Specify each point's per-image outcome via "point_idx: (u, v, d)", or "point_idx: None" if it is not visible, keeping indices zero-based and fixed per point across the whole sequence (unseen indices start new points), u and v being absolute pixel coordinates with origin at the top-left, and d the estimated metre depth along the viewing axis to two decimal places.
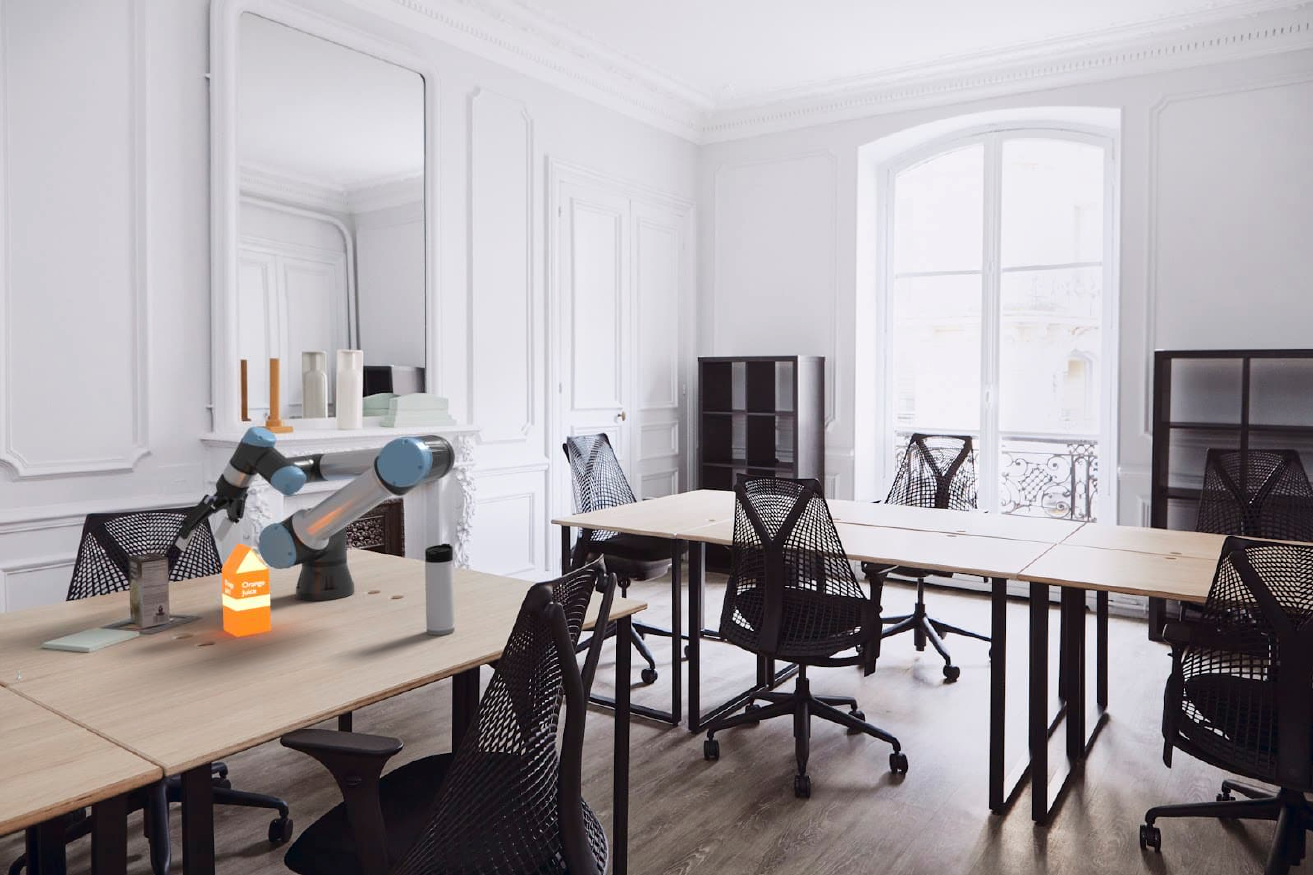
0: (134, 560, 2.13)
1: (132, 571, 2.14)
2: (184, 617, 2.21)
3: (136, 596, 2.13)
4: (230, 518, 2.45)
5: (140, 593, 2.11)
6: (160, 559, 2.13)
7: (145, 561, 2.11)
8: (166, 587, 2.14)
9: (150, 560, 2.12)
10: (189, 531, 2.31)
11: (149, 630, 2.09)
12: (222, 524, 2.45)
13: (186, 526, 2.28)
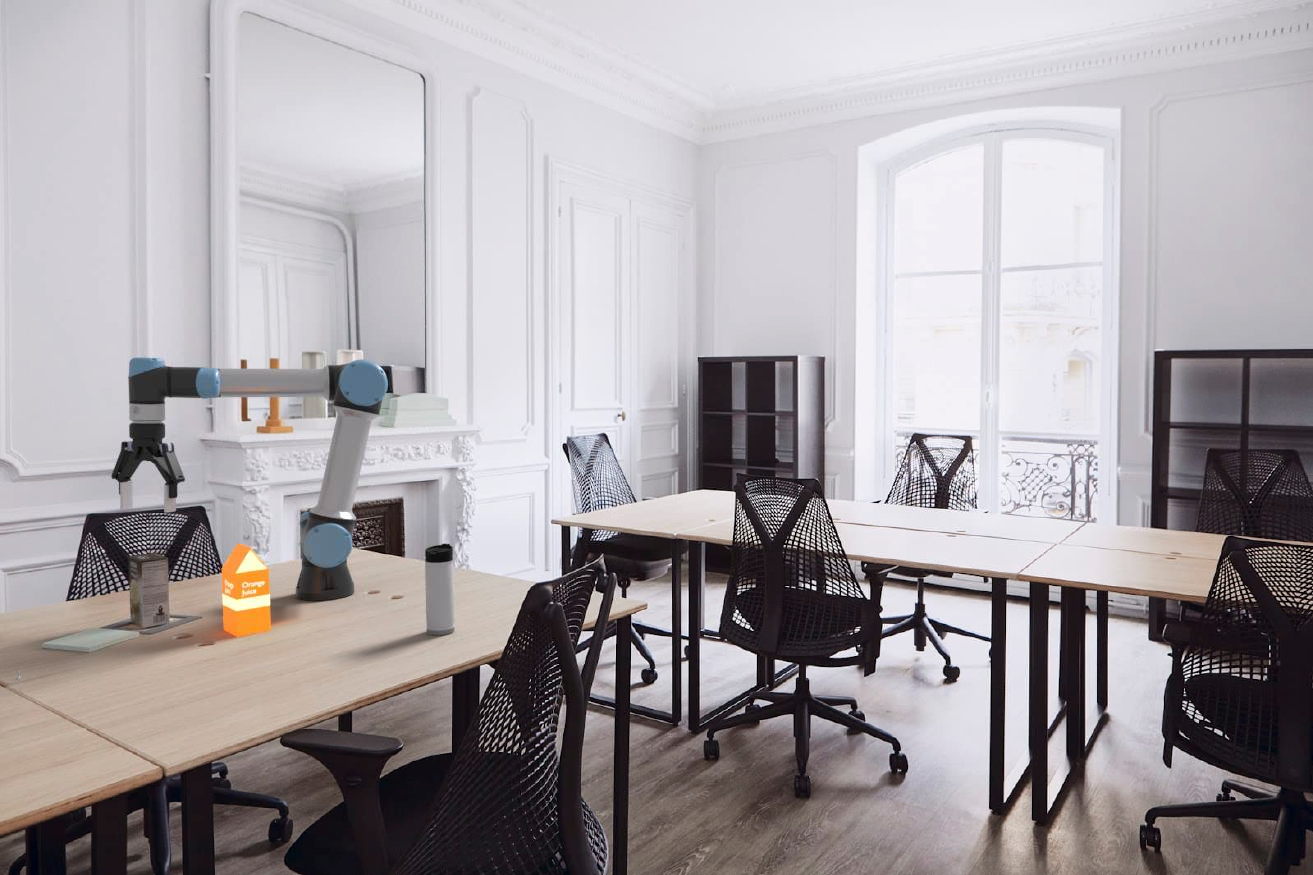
0: (134, 560, 2.13)
1: (132, 571, 2.14)
2: (184, 617, 2.21)
3: (136, 596, 2.13)
4: (125, 480, 2.18)
5: (140, 593, 2.11)
6: (160, 559, 2.13)
7: (145, 561, 2.11)
8: (166, 587, 2.14)
9: (150, 560, 2.12)
10: None
11: (149, 630, 2.09)
12: (124, 491, 2.17)
13: (183, 478, 2.13)
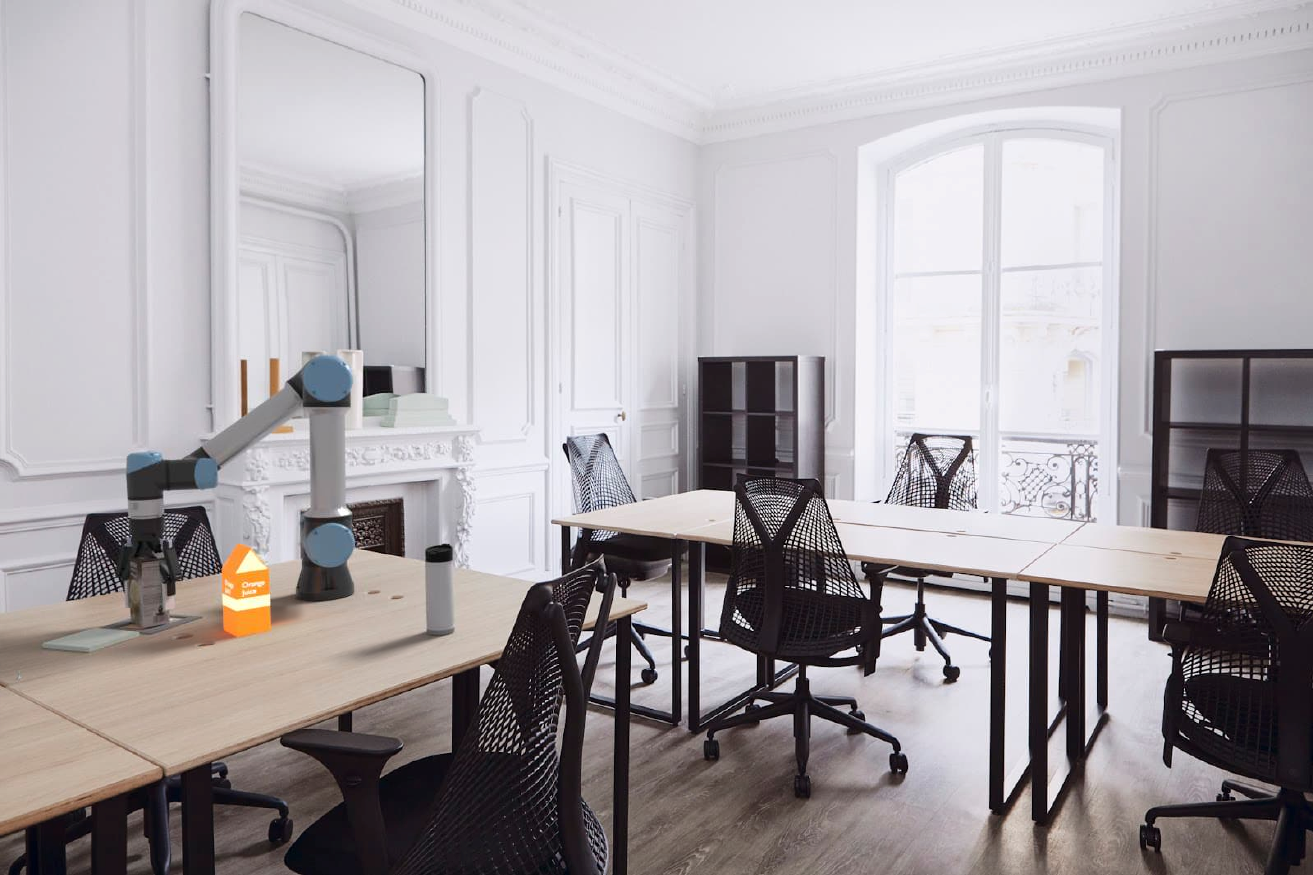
0: (134, 560, 2.13)
1: (132, 571, 2.14)
2: (184, 617, 2.21)
3: (136, 596, 2.13)
4: None
5: (140, 593, 2.11)
6: (160, 559, 2.13)
7: (145, 561, 2.11)
8: None
9: (150, 560, 2.12)
10: None
11: (149, 630, 2.09)
12: None
13: (181, 575, 2.14)
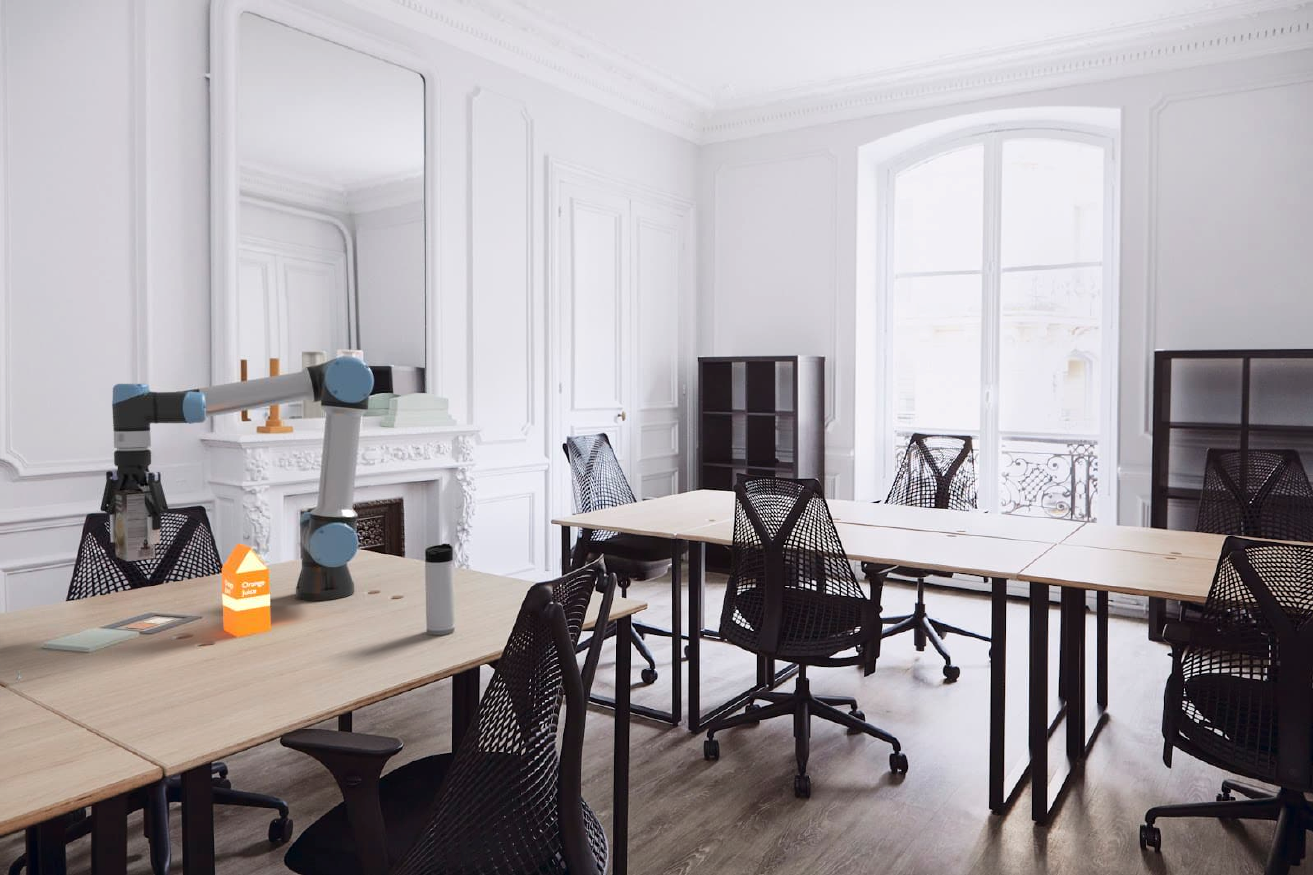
0: (119, 493, 2.09)
1: (117, 504, 2.10)
2: (184, 617, 2.21)
3: (120, 530, 2.09)
4: None
5: (125, 526, 2.07)
6: (145, 492, 2.09)
7: (130, 493, 2.07)
8: None
9: (135, 492, 2.08)
10: None
11: (149, 630, 2.09)
12: (114, 523, 2.13)
13: (166, 509, 2.10)
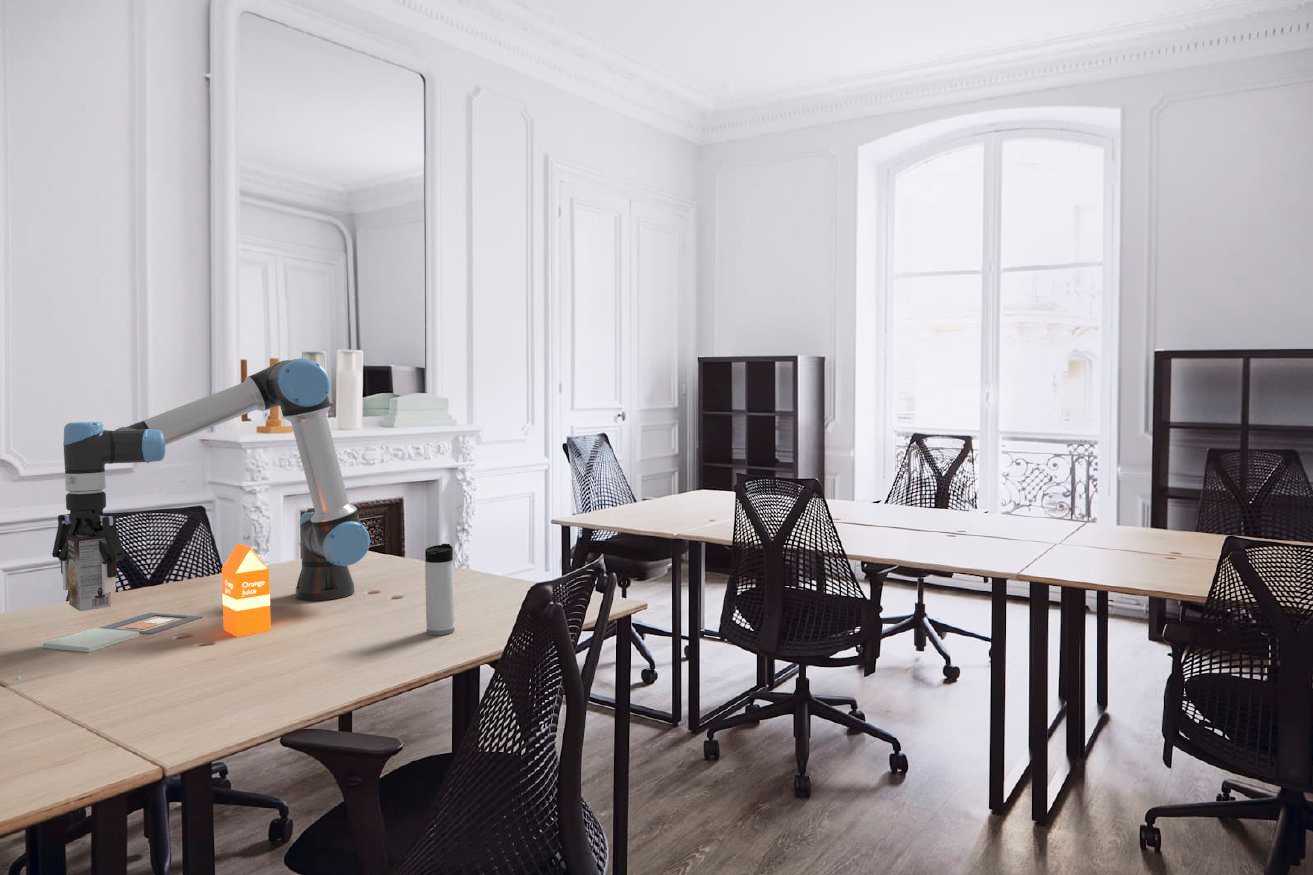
0: (71, 538, 1.97)
1: (69, 550, 1.98)
2: (184, 617, 2.21)
3: (73, 578, 1.97)
4: None
5: (77, 574, 1.95)
6: (100, 537, 1.97)
7: (83, 539, 1.95)
8: None
9: (88, 538, 1.96)
10: None
11: (149, 630, 2.09)
12: (67, 570, 2.01)
13: (122, 555, 1.98)
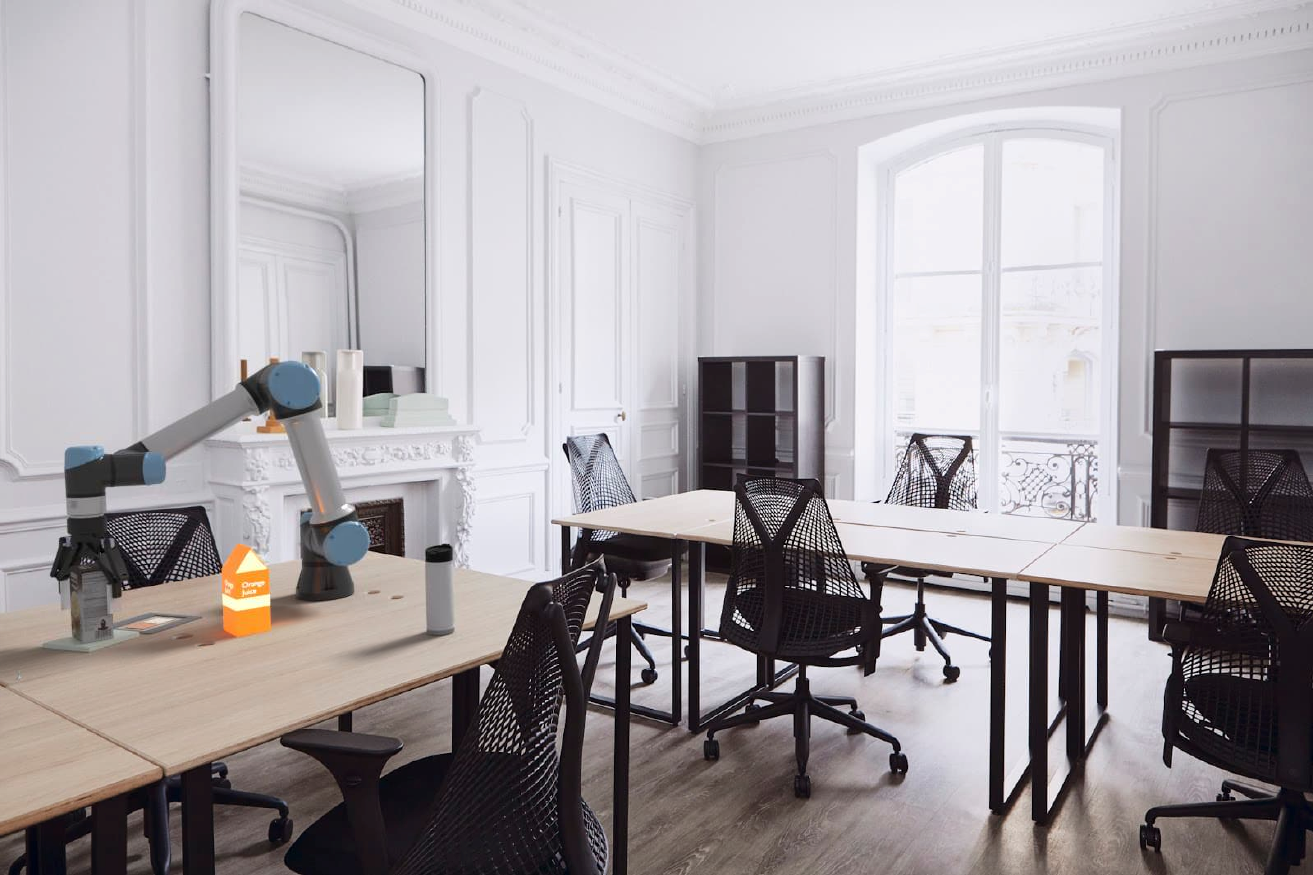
0: (74, 570, 1.97)
1: (72, 582, 1.98)
2: (184, 617, 2.21)
3: (76, 610, 1.97)
4: (65, 578, 2.02)
5: (80, 606, 1.95)
6: None
7: (86, 572, 1.95)
8: None
9: (91, 570, 1.96)
10: None
11: (149, 630, 2.09)
12: (65, 590, 2.01)
13: (127, 576, 1.98)
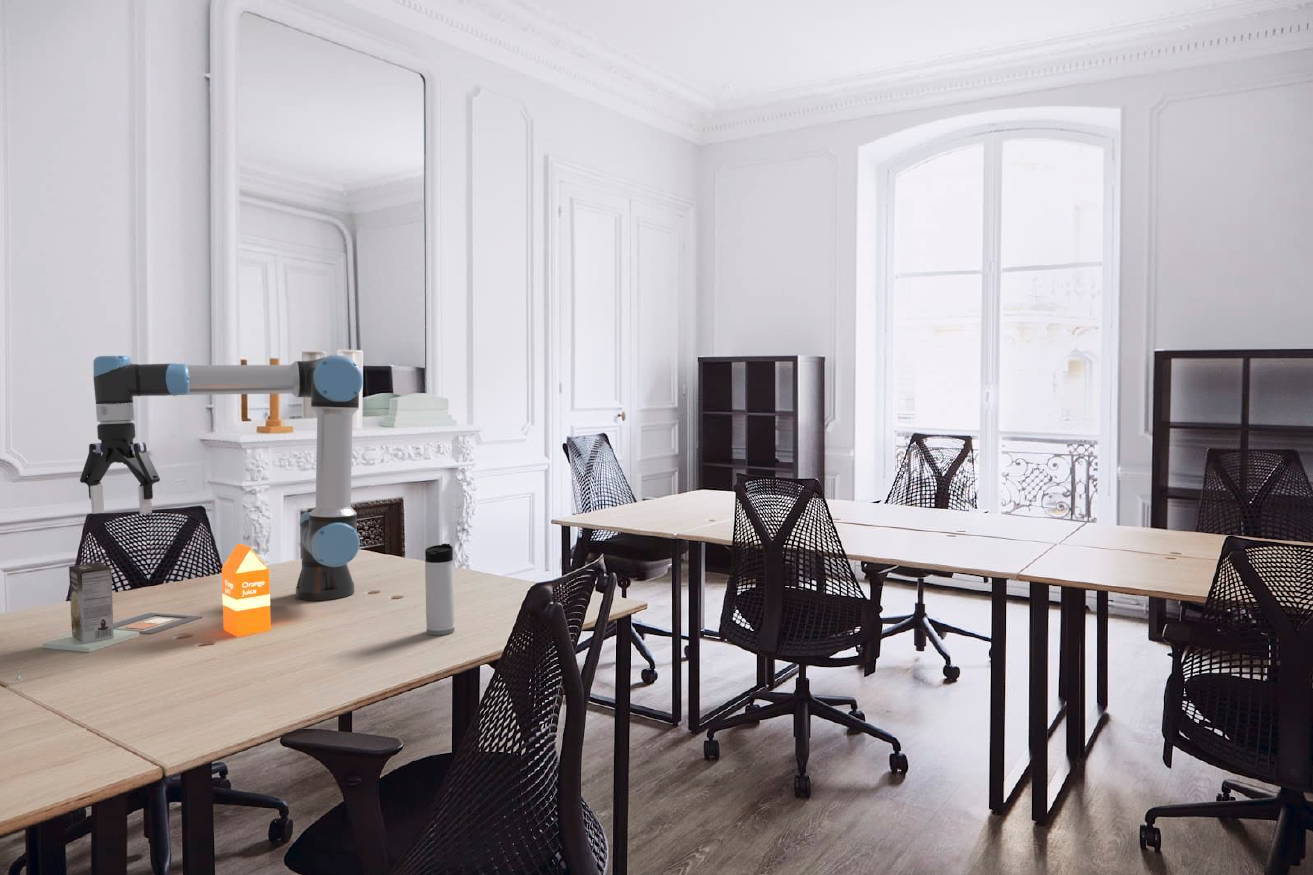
0: (74, 570, 1.97)
1: (72, 582, 1.98)
2: (184, 617, 2.21)
3: (76, 610, 1.97)
4: (94, 483, 2.11)
5: (80, 606, 1.95)
6: (103, 569, 1.98)
7: (86, 572, 1.95)
8: (110, 599, 1.99)
9: (91, 570, 1.96)
10: None
11: (149, 630, 2.09)
12: (95, 494, 2.10)
13: (157, 478, 2.08)
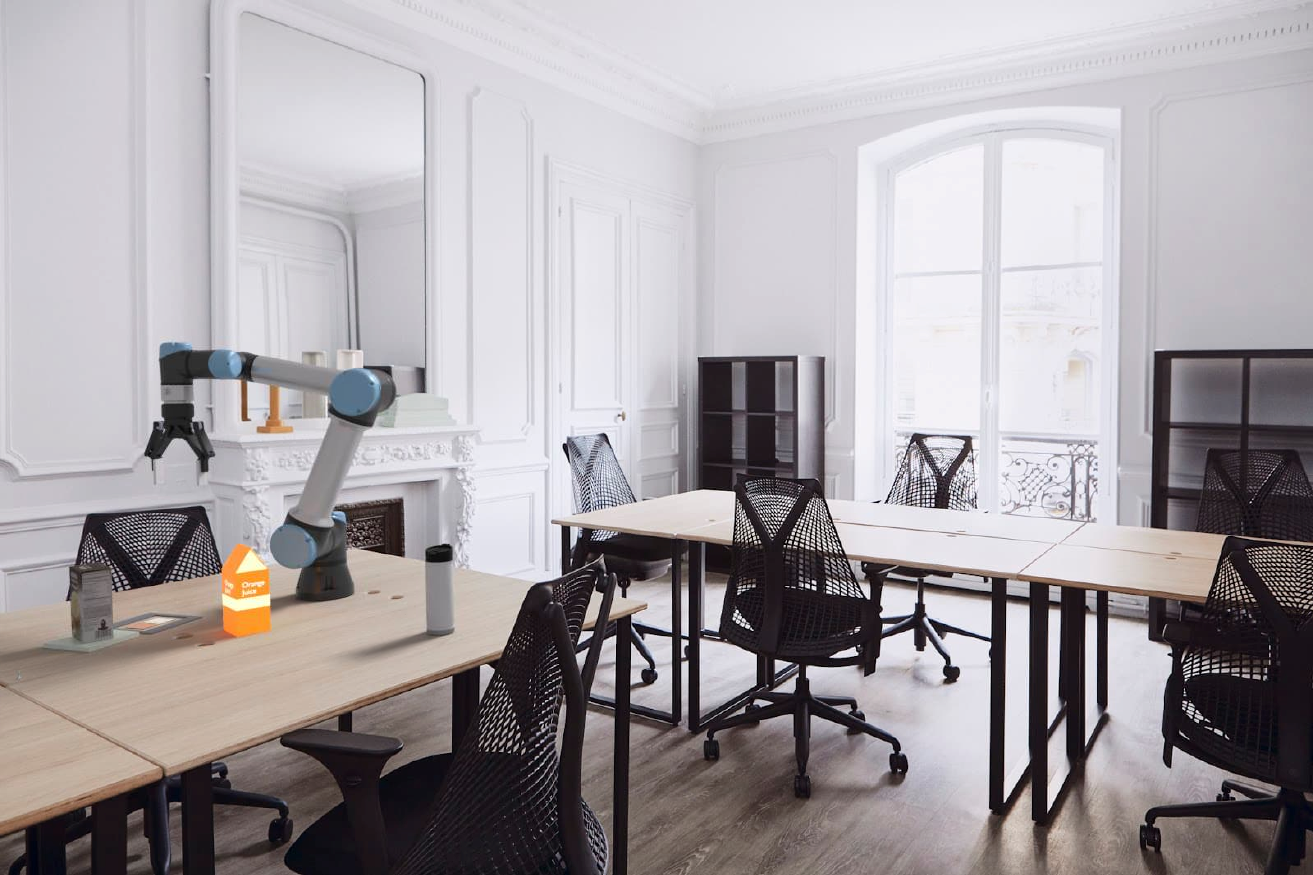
0: (74, 570, 1.97)
1: (72, 582, 1.98)
2: (184, 617, 2.21)
3: (76, 610, 1.97)
4: (157, 457, 2.34)
5: (80, 606, 1.95)
6: (103, 569, 1.98)
7: (86, 572, 1.95)
8: (110, 599, 1.99)
9: (91, 570, 1.96)
10: None
11: (149, 630, 2.09)
12: (157, 467, 2.33)
13: (213, 453, 2.30)
